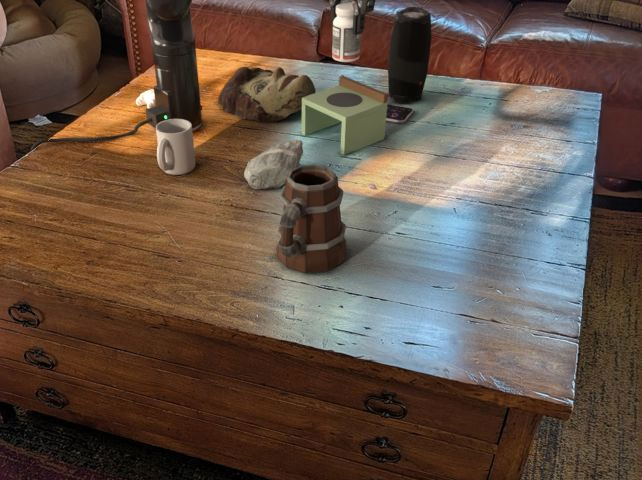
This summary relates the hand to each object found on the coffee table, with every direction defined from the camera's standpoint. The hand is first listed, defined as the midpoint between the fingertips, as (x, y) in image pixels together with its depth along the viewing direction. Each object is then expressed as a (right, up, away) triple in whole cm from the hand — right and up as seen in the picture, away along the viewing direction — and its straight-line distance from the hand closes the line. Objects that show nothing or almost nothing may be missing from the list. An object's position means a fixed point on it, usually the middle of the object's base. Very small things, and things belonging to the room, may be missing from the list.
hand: (346, 29), depth 146 cm
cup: (-35, -27, +5) cm, 45 cm away
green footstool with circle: (+1, -17, +15) cm, 23 cm away
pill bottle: (0, -4, +4) cm, 6 cm away
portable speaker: (+17, -3, +30) cm, 35 cm away
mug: (-9, -49, -21) cm, 55 cm away
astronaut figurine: (-43, -3, +33) cm, 54 cm away
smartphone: (+10, -8, +24) cm, 27 cm away
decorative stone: (-14, -29, +2) cm, 33 cm away
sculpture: (-16, -5, +29) cm, 34 cm away
